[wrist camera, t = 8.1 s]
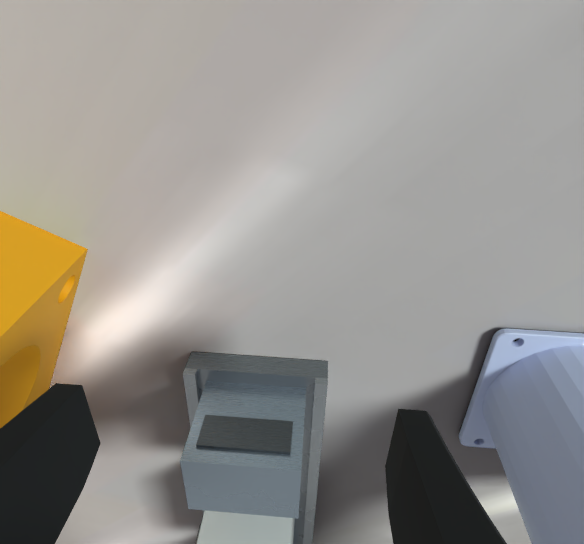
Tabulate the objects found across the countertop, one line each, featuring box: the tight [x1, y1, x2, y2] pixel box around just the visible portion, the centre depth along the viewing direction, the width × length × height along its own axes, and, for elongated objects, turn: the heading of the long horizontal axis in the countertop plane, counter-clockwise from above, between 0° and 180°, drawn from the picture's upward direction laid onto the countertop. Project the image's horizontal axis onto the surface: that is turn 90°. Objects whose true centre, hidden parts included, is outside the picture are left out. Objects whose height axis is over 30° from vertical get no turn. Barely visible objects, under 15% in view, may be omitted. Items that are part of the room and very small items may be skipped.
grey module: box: [195, 510, 295, 544], centre depth 24 cm, size 5×6×5 cm
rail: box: [180, 352, 328, 544], centre depth 25 cm, size 7×20×6 cm, turn 178°
